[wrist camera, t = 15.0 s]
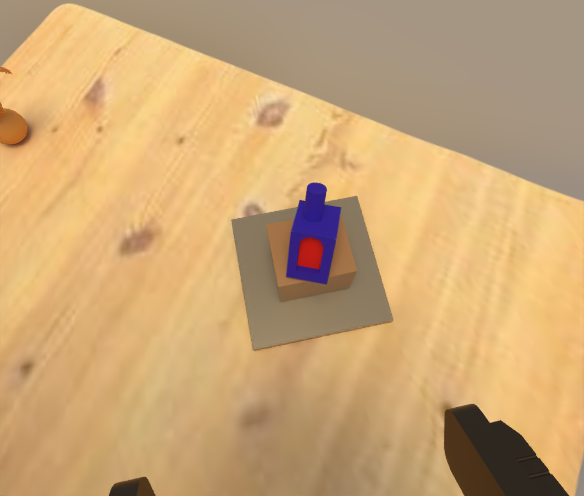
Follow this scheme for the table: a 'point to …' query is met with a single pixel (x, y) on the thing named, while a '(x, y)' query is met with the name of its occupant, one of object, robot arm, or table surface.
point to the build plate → (309, 309)
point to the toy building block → (313, 237)
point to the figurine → (11, 123)
